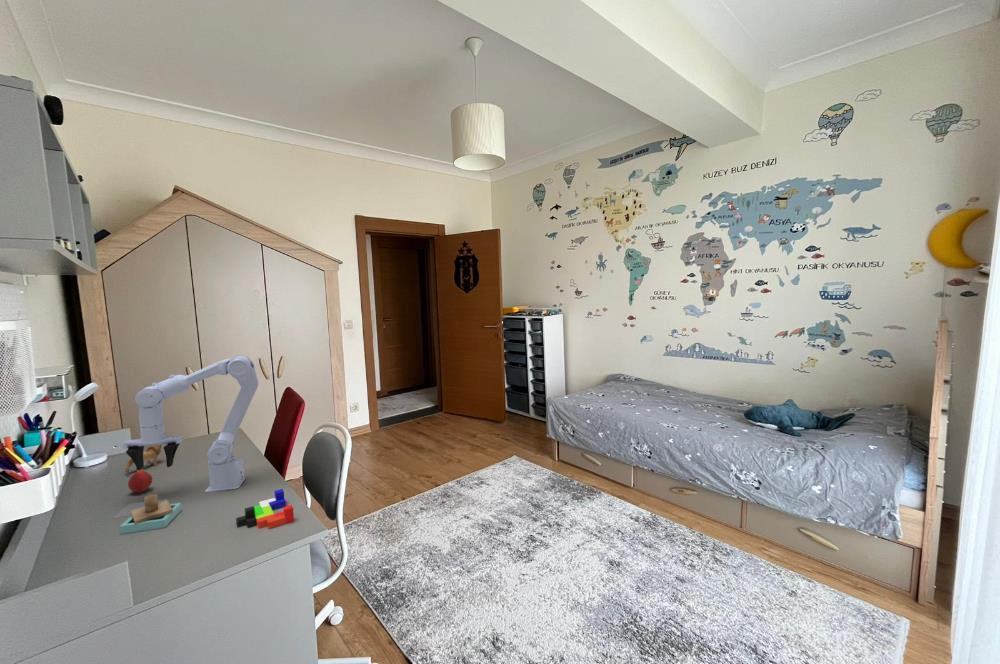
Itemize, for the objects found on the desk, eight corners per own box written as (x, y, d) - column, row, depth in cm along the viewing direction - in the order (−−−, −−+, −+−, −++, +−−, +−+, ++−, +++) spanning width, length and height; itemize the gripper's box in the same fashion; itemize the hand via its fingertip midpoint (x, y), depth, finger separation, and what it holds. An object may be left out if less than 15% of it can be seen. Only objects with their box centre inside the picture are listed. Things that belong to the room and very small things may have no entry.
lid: (167, 503, 120) (166, 487, 120) (172, 512, 115) (171, 495, 114) (131, 514, 114) (129, 496, 114) (135, 524, 109) (133, 506, 108)
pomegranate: (138, 497, 129) (136, 473, 128) (124, 496, 130) (122, 472, 130) (157, 489, 135) (155, 466, 134) (143, 488, 136) (141, 464, 135)
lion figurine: (152, 461, 159) (151, 438, 159) (167, 460, 160) (165, 438, 159) (119, 477, 145) (117, 452, 144) (135, 476, 145) (133, 452, 144)
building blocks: (233, 516, 118) (232, 501, 118) (283, 502, 126) (282, 488, 126) (240, 539, 107) (239, 523, 106) (294, 522, 115) (293, 507, 114)
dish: (182, 510, 121) (181, 502, 120) (165, 528, 111) (164, 520, 111) (140, 516, 118) (140, 508, 117) (120, 535, 108) (119, 526, 108)
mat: (169, 499, 128) (168, 498, 128) (154, 513, 119) (154, 512, 119) (130, 504, 125) (129, 503, 125) (112, 519, 116) (111, 518, 116)
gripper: (185, 419, 133) (188, 459, 134) (130, 423, 129) (134, 465, 130) (175, 425, 126) (178, 468, 127) (117, 430, 122) (121, 474, 123)
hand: (155, 467), depth 128 cm, fingers open, 7 cm apart
